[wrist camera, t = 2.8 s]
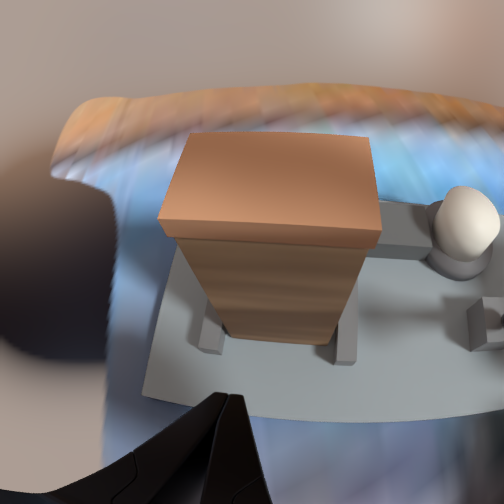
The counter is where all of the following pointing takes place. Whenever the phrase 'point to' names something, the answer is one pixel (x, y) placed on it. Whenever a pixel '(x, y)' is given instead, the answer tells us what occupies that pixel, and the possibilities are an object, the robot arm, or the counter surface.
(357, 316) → the control board
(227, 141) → the brown tall rectangular block
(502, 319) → the dark gray metallic lever
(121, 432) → the counter surface
